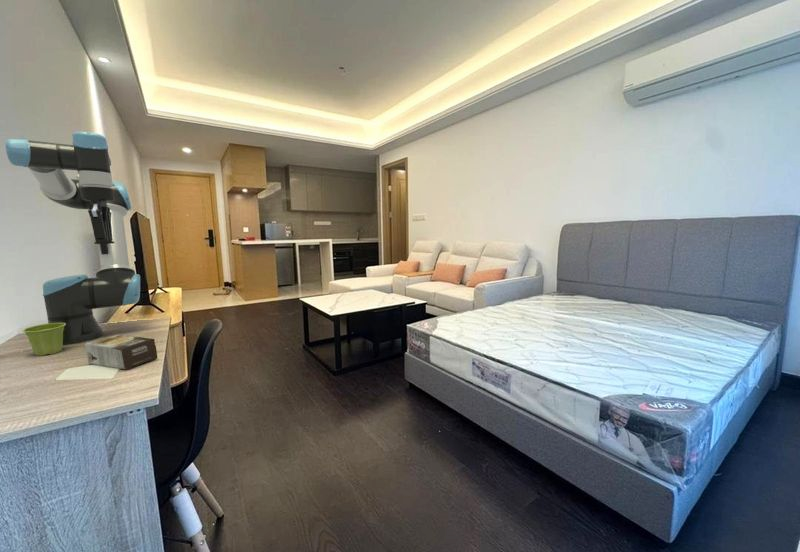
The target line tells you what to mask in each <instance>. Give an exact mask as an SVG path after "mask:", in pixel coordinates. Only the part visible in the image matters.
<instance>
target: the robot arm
mask: <svg viewBox="0 0 800 552" xmlns="http://www.w3.org/2000/svg"><path fill="white" fill-rule="evenodd" d="M5 151H6V156H7V158H8V161H9V163H10V164H11V165H13V166H16V167H23V168H28V170H29V171H30V172H31V173H32V175H33V176H34V178H35V179H36V180H37V181H38V183H39V189H40V190H41V191H40V192H41V193H42V194H43V196H45V197H46V198H48V199H49V200H50V201H52V202H54V203H56V204H58V205H61V206H63V207H68V208H70V209H76V210H87V212H88V215H89V219H90V222H91V226H92V231H93V235H94V241H95V242H94V244H95V245H98V246H97V247H98V253H99V265H100V269H99V270H97V271H95V277H89V276H88V274H86V273H85V274H84V273H83V274H76V275H68V276H63V277H57V278H53V279H50V280H46V281H45V282H44V283H43V284H42V296H43V299H44V305H45V310H46V317H47V321H48V323H47V324H49V323H65V324H66V325H65V326H64V330H63V346H69V345H76V344H81V343H87V342H91V341H94V340H95V339H98V338H100V337H102V336H103V329H102V327H101V326H100V324H99V323H98V321H97V320H96V318H95V316H94V312H93V311H94V310H95V309H103V308H113V307H122V306H123V307H125V306H129V305H134V304H137V303H138V302H139V301H140V297H141V275H140V274H139V273H138V274H137V273H136V271H135V269H133V268H131V267H130V262H129V261H130V260H129V251H128V245H127V244H128V243H127V236H126V229H125V222H124V221H125V220H124V217H126V216H127V215H128V211H131V209H132V206H131V201H130V198H129V193H128V190H127V188H126V185H125V184H124V183H122V182H118V181H113V176H112V171H111V166H112V163H111V162H112V160H111V158H110V153H109V146H108V142H107V138H106V137H105V136H104V135H102V134H100V133H96V132H91V131H75V132H73V133H72V144H65V143H55V142H48V141H46V142H45V141H37V140H31V139H30V140H29V139H24V138H23V139H19V138H17V139H16V138H15V139H14V138H9V139H7V140H6V141H5ZM66 170H68V171H77V174H76V175H75V178H76V179H75V178H69V177H68V176H67V174H66V172H65V171H66Z"/></svg>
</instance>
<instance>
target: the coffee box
mask: <svg viewBox="0 0 800 552" xmlns="http://www.w3.org/2000/svg"><path fill="white" fill-rule="evenodd" d="M84 348H85V353H86V358H87V363H88V364H90V365H94V364H97V365H103V366H108V367H114V368H120V369H119V370H130V369H132V368H135V367H137V366H139V365H142V364H146V363H149V362H151V361H153V360H156V359H158V354H157V353H158V352H157V345H156V342H155V338H150V337H141V336H134V335H127V334H126V335H125V334H124V335H123V334H115V335H111V336H107V337H104V338H100V339H97V340H92V341H88V342H85V343H84Z"/></svg>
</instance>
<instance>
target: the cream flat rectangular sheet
mask: <svg viewBox="0 0 800 552" xmlns="http://www.w3.org/2000/svg"><path fill="white" fill-rule="evenodd" d="M119 370H121V369H120V368H114V367H108V366H103V365H97V364H89V365H85V366H77V367H76V366H75V367H70V368H66V369H65V370H64V371H63V372H62V373H61V374H60V375H58V376H57V378H56V379H55V380H56V381H59V380H60V381H61V380H62V381H63V380H64V381H67V380H69V381H70V380H100V379H101V380H104V379H110V380H111V379H114V377H115V376H116V374H117V373H118V372H119Z"/></svg>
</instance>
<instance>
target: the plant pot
mask: <svg viewBox="0 0 800 552" xmlns="http://www.w3.org/2000/svg"><path fill="white" fill-rule="evenodd" d="M65 325H66V324H65V323H49V324H48V323H43V324H37V325H34V326H29V327H26V328H24V329H22V332H23V333H25V336H27V337H28V340H29V342H30V345H31V347H32V351H33V353H34V355H35V356H39V357H40V356H42V357H43V356H46V355H49V354H50V355H53V354H56V353H59V352H61V351H63V348H64V347H63V346H64V345H63V330H64V326H65Z"/></svg>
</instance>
